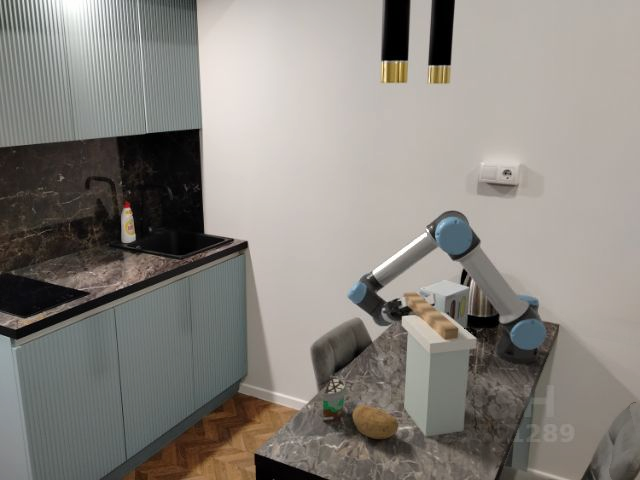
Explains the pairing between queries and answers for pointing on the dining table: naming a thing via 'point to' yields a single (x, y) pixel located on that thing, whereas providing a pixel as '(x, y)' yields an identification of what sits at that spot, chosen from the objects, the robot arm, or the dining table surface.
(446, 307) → the supplement box
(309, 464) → the dining table surface
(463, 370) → the box
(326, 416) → the food container
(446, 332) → the oak slat
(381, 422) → the potato
